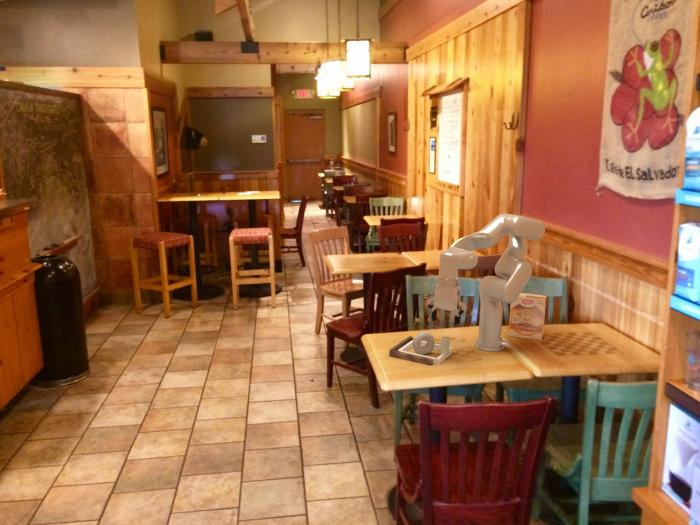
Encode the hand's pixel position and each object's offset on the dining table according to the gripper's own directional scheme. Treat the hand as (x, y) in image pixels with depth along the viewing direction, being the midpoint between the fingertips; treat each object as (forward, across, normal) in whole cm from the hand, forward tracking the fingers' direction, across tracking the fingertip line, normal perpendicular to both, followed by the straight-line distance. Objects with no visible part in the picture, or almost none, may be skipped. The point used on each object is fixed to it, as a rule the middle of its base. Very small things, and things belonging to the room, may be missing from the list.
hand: (445, 322), depth 241 cm
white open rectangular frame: (+16, +8, -1) cm, 18 cm away
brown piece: (+16, +11, -1) cm, 19 cm away
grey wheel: (+16, +9, -1) cm, 19 cm away
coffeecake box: (+15, -22, -47) cm, 54 cm away
